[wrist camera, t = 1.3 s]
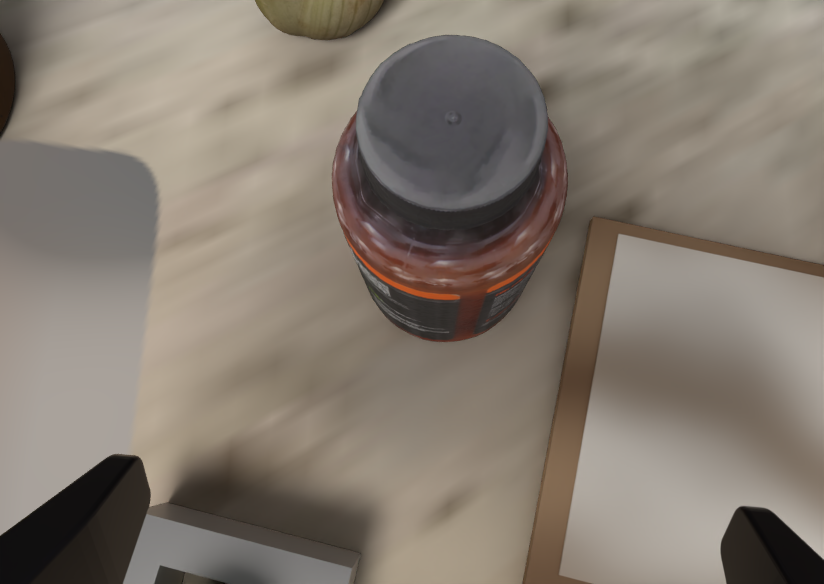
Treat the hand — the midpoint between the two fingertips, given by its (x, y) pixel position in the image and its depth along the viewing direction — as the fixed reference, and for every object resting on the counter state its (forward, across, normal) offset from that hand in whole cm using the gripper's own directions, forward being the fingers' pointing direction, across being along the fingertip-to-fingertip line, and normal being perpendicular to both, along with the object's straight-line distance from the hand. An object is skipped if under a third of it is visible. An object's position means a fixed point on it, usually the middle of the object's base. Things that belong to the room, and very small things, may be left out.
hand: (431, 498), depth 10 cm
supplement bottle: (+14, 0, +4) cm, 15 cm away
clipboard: (+10, -11, +8) cm, 17 cm away
